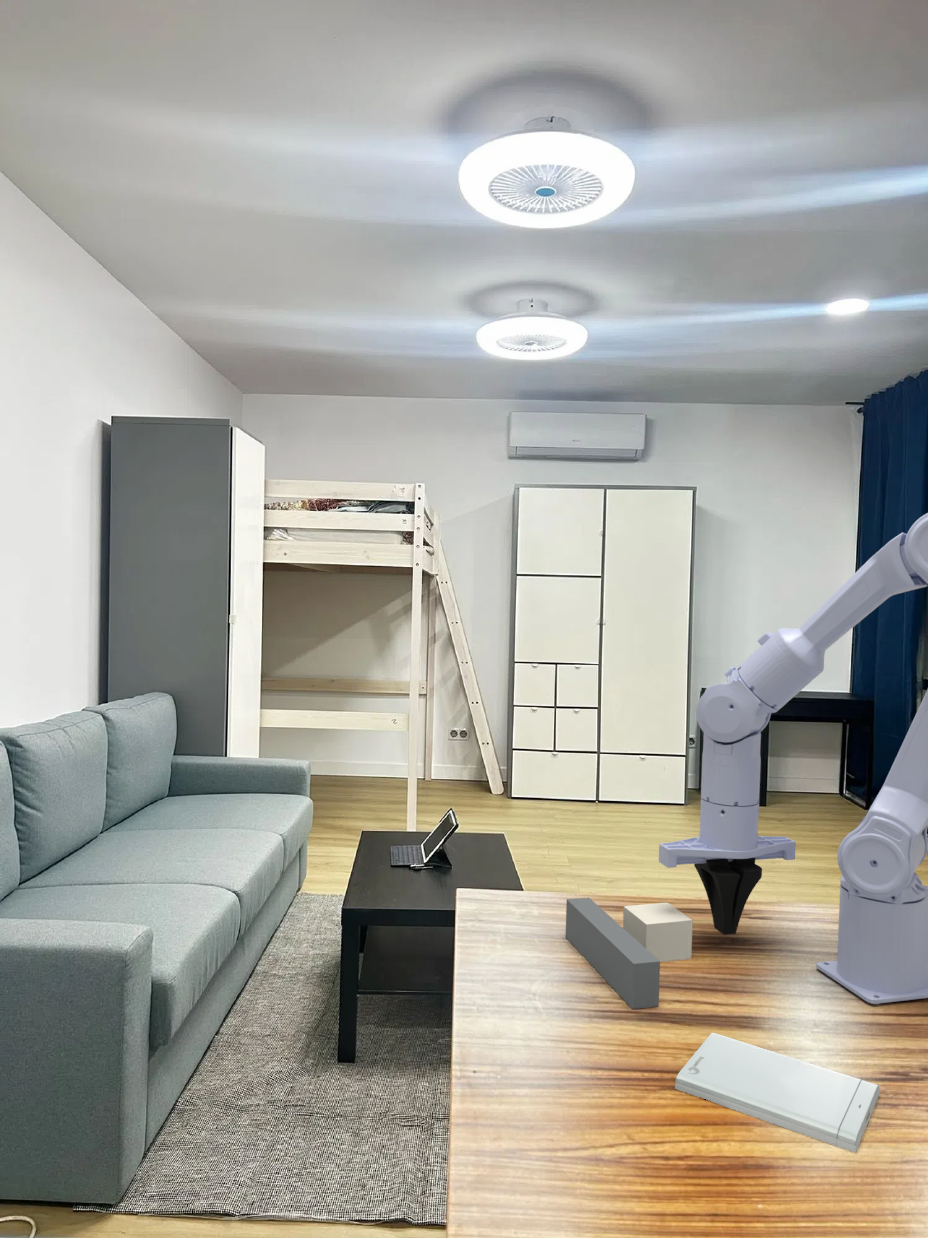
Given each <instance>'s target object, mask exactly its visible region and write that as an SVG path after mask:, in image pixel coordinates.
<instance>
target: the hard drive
mask: <svg viewBox="0 0 928 1238" xmlns="http://www.w3.org/2000/svg"><path fill="white" fill-rule="evenodd" d="M676 1089H677V1091H679V1092H682V1091H683V1093H685V1092H687V1093H686V1094H688V1095H690V1094H692V1095H691V1096H693V1095H694V1096H693V1097H696V1096H697V1097H696V1098H699V1097H702V1098H704V1099H706V1100H705V1101H707V1100H710V1101H711V1102H710V1101H709V1102H710V1103H713V1102H714V1103H713V1104H716V1103H717V1104H716V1105H719V1106H721V1105H722V1106H721V1107H724V1108H728V1109H730V1110H733V1111H735V1110H736V1111H735V1112H739V1113H741V1114H745V1115H747V1116H750V1117H753V1118H755V1117H756V1118H755V1119H758V1118H759V1119H758V1120H761V1121H764V1122H767V1123H770V1124H773V1125H774V1126H779V1127H781V1126H782V1127H781V1128H784V1129H787V1130H789V1131H792V1132H795V1133H798V1134H801V1135H803V1136H806V1137H810V1138H812V1139H815V1140H818V1141H821V1142H824V1143H827V1144H830V1145H833V1146H835V1147H838V1148H840V1149H844V1150H847V1151H849V1152H852V1153H855V1154H856V1153H857V1151H858V1148H859V1146H860V1143H861V1141H862V1138H863V1136H864V1133H865V1131H866V1129H867V1126H868V1124H869V1122H870V1119H871V1116H872V1114H873V1111H874V1110H875V1106H876V1104H877V1102H878V1099H879V1097H880V1084H876V1083H873V1082H870V1081H868V1080H865V1079H860V1078H859V1077H854V1076H852V1075H848V1074H845V1073H842V1072H839V1071H836V1070H832V1069H829V1068H827V1067H823V1066H820V1065H817V1064H813V1063H810V1062H808V1061H805V1060H802V1059H798V1058H795V1057H792V1056H789V1055H785V1054H782V1053H779V1052H776V1051H773V1050H769V1049H765V1048H762V1047H760V1046H757V1045H754V1044H751V1043H747V1042H746V1041H745V1042H744V1041H742V1040H738V1039H736V1038H734V1037H733V1038H732V1037H729V1036H726V1035H722V1034H720V1033H719V1034H718V1033H716V1032H711V1033H710V1034H709V1035H708V1037H707V1038H706V1039H705V1040H704V1041H703V1043H702V1044H701V1045H700V1046H699V1047H698V1049H697V1050H696V1051H695V1052H694V1053H693V1055H692V1056H691V1058H689V1060H688V1061H687V1062H686V1063H685V1065H684V1066H683V1067H682V1068H681V1069H680V1071H679V1072H678V1074H677V1075H676V1077H675V1083H674V1090H676ZM702 1098H701V1099H702ZM704 1099H703V1100H704Z"/></svg>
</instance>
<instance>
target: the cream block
mask: <svg viewBox="0 0 928 1238" xmlns="http://www.w3.org/2000/svg"><path fill="white" fill-rule="evenodd" d="M622 916H623V917H622V918H623V919H622V928H624V929H625V930H626V931H627V932H628V933H629V934H630V935H631V936H632V937H634V938H635V939H636V940H637V941H638V942H639V943H640V944H641V945H642V946H644V947H645V948H646V949H647V950H648V951H649V952H650V953H651V954H652V955H654V956H655V957H656V958H657V959H658V960H659V961H660V963H661V962H662V963H664V962H672V961H673V962H674V961H683V960H685V961H686V960H692V953H693V952H692V949H693V948H692V947H693V946H692V944H693V919H692V918H691V917H689V916H687V915H686V914H685V913H683V912H682V911H680V910H679V909H678V908H676V907H674V906H673V905H672V904H671V903H669V902H657V903H646V904H645V903H644V904H636V905H634V904H633V905H623V915H622Z"/></svg>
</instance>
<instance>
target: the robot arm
mask: <svg viewBox="0 0 928 1238" xmlns="http://www.w3.org/2000/svg"><path fill="white" fill-rule="evenodd" d="M926 587H928V512H927V513H925V514H923V515H922V516H920V517H919V518H918V519H917V520H916V521H915V522H914V523H912V525H911V527H909V530H908V531H907V533H905V532H901V533H899V534H898V535H897V536H895V537H893V538H892V539H890V540H889V541H888V542H886V544H885V545H884V546H882V547H881V548H880V549H879V550H878V551H876V552H875V554H873V555H872V556H871V557H870V558H869V559H868V560H867V561H866V562H865V563H864V564H863V565H862V566H860V567H859V569H858V570H857V571H856V572H854V573H853V575H852V576H851V577H850V578H848V579H847V580H846V581H845V583H844V584H842V586H840V587H839V589H838V590H836V591H835V592H834V593H833V595H831V597H830V598H828V599H827V601H825V602H824V603H823V604H822V605H821V606H820V607H819V608H818V610H817V609H816V611H815V613H813V614H812V615H811V617H810V618H808V619H806V621H805V623H803V624H802V625H801V626H800V627H798V628H796V627H795V628H794V627H793V628H792V627H781V628H778V629H777V630H776V631H775V632H774V633H772V632H771V631H769V632H765V633H764V634H762V635H761V636H760V637H759V638H758V639H757V642H758V644H759V645H760V646H759V647H757V649H755V651H754V652H753V653H751V655H750V656H748V657H747V658H746V659H745V660H744V661H743V662H741V664H739V665H738V667H735V666H731V667H729V668H728V669H727V670H726V671H725V672H724V675H725V677H726V678H727V682H721V683H720V682H719V683H716V684H712V685H710V686H708V687H706V689H705V691H704V693H703V694H702V695H701V697H700V698H699V700H698V702H697V704H696V710H695V716H696V720H697V724H698V726H699V728H700V729H701V731H702V733H703V745H702V754H701V755H702V758H701V784H700V788H701V789H700V813H699V815H700V816H699V836H694V837H689V838H686V839H681V840H676V841H671V842H660V843H659V845H658V863H660V864H661V865H663V866H664V867H666V868H667V869H668V868H669V869H673V868H677V867H678V866H680V865H681V866H682V865H693V866H694V868H695V869H696V872H697V874H698V875H699V878H700V880H701V882H702V885H703V887H704V890H705V893H706V896H707V900H708V902H709V907H710V911H711V916H712V922H713V928H714V929H715V930H717V932H719V933H720V934H722V935H723V936H728V935H736V934H737V930H738V926H739V923H740V920H741V917H742V913H743V912H744V908H745V906H746V904H747V901H748V899H749V897H750V896H751V893H752V891H753V890H754V888H755V887H756V886H757V884H758V883H759V882H760V880H761V879H762V875H763V868H762V866H761V865H758V864H756V861H757V860H758V861H759V860H775V859H783V860H786V861H795V860H796V846H797V845H796V844H797V843H796V840H793V839H791V838H789V837H787V836H783V835H782V836H781V835H780V836H772V835H771V836H769V835H768V836H766V835H759V815H760V814H759V813H760V812H759V810H760V788H761V786H760V784H761V766H762V765H761V762H762V761H761V759H762V758H761V743H762V742H761V739H762V733H761V732H763V730H764V729H765V728H766V727H767V725H768V723H769V722H770V719H771V715H772V714H774V713H777V712H778V711H779V710H780V709H782V708H783V707H784V706H785V705H787V703H788V702H789V701H791V700H792V699H793V698H794V697H795V696H796V695H798V694H799V693H800V692H801V691H803V689H804V688H805V687H807V686H808V685H809V684H810V683H812V681H813V680H814V679H816V678H817V677H818V676H819V675H820V674H821V673H823V672H824V668H825V653H826V651H827V650H828V649H829V648H830V647H831V646H832V645H835V643H836V642H837V641H838V640H839V639H841V638H842V637H843V636H845V635H846V634H847V633H848V632H849V631H851V630H852V629H853V628H854V627H856V626H857V625H858V624H859V623H861V621H863V620H864V619H865V618H866V617H867V616H869V614H871V613H872V612H873V611H875V610H876V609H877V608H878V607H879V606H881V605H882V604H883V603H884V602H885V601H886V600H888V599H889V598H890V597H892V596H895V595H898V594H903V593H906V592H910V591H915V590H918V589H922V588H926ZM927 832H928V688H927V689H926V692H925V694H924V696H923V698H922V701H921V702H920V705H919V706H918V709H917V711H916V713H915V716H914V718H913V720H912V721H911V723H910V726H909V729H908V731H907V733H906V735H905V737H904V739H903V742H902V743H901V746H900V747H899V750H898V752H897V755H896V756H895V758H894V761H893V762H892V765H891V767H890V770H889V772H888V774H887V776H886V778H885V780H884V783H883V785H882V786H881V789H880V790H879V792H878V794H877V795H876V797H875V799H874V800H873V802H872V804H871V806H870V807H869V809H868V812H867V814H866V815H865V816H864V817H863V818H862V819H861V821H860V823H859V825H858V826H857V827H856V828H855V829H853V830H852V831H850V832H849V833H848V834H847V835H845V837H844V838H843V839H842V840H841V842H840V845H839V846H838V851H837V864H838V867H839V871H840V873H841V876H840V879H839V881H840V885H839V904H838V905H839V908H838V909H839V910H838V931H837V932H838V933H837V936H838V937H837V958H836V960H829V961H819V962H816V966H815V967H816V969H818V970H819V971H821V972H822V973H824V974H825V975H826V976H828V977H829V978H831V979H832V980H834V981H836V982H837V983H839V984H840V985H841V986H843V987H844V988H846V989H848V990H849V991H850V992H852V993H853V994H855V995H856V996H858V997H859V998H861V999H862V1000H863V1001H865V1002H867V1003H869V1004H872V1005H877V1004H884V1003H893V1002H901V1001H902V1002H903V1001H911V1000H912V1001H914V1000H920V999H928V886H927V885H924V884H923V882H922V880H921V879H920V876H919V874H918V873H916V871H917V869H918V867H919V866H920V865H921V864H922V863H923V862H924V860H925V858H926V856H927V853H928V837H927Z"/></svg>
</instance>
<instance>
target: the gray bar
mask: <svg viewBox="0 0 928 1238" xmlns="http://www.w3.org/2000/svg"><path fill="white" fill-rule="evenodd" d="M565 913H566V914H565V939H567V940H568V941H569V942H570V944H571V945H573V947H574V948H575V949H576V950H577V951H578V952H579V954H581V956H582V957H583V958H584V959H585V960H586V961H587V962H588V963H589V964H590V965H591V967H592V968H594V970H596V972H597V973H598V974H599V975H600V976H601V978H603V979H604V980H605V982H606V983H607V984H608V985H609V986H610V987H612V989H613V990H614V991H615V992H616V994H617V995H619V997H620V998H621V999H622V1000H623V1001H624V1002H625V1003H626V1004H627V1005H628V1006H629V1007H630V1008H631V1010H635V1009H636V1010H637V1009H646V1008H655V1007H656V1008H657V1007H659V1005H660V1004H659V1002H660V1001H659V1000H660V999H659V998H660V977H661V975H660V974H661V973H660V972H661V971H660V970H661V962H660V961H659V960H658V959H657V958H656V957H655V956H654V955H652V954H651V953H650V952H649V951H648V950H647V949H646V948H645V947H644V946H642V945H641V944H640V943H639V942H638V941H637V940H636V939H635V938H634V937H632V936H631V935H630V934H629V933H628V932H627V931H626V930H625V929H624V928H623V926H622V925H621V924H619V923H618V922H617V921H616V920H615V919H613V918H612V917H611V916H610V915H609V914H608V913H607V912H606V911H605V910H604V909H603V908H602V907H600V906H599V905H598V904H597V903H596V902H595V901H593V900H592V898H590V897H578V898H566V910H565Z"/></svg>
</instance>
